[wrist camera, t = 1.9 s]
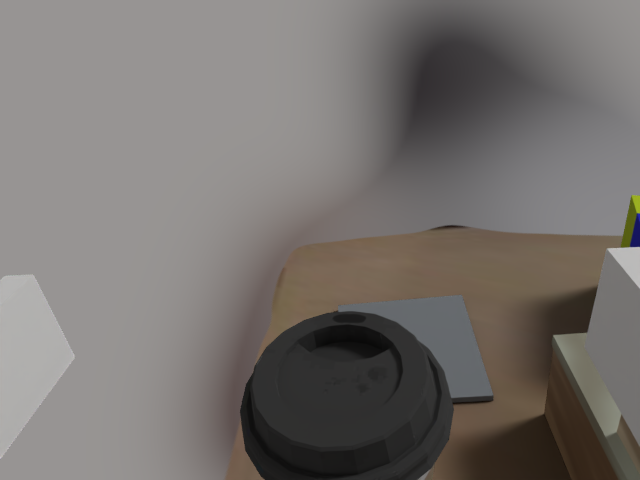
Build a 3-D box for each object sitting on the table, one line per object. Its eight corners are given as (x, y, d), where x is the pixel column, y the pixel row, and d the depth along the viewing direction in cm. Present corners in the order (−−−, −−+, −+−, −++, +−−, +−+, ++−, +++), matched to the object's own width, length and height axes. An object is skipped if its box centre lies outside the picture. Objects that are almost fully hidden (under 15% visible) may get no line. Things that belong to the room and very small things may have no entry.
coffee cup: (453, 455, 35) (450, 298, 27) (459, 644, 26) (457, 488, 18) (306, 442, 38) (266, 297, 30) (264, 608, 29) (191, 460, 21)
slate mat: (461, 299, 50) (461, 294, 49) (493, 400, 39) (493, 395, 38) (339, 309, 51) (338, 305, 51) (335, 409, 40) (334, 404, 40)
